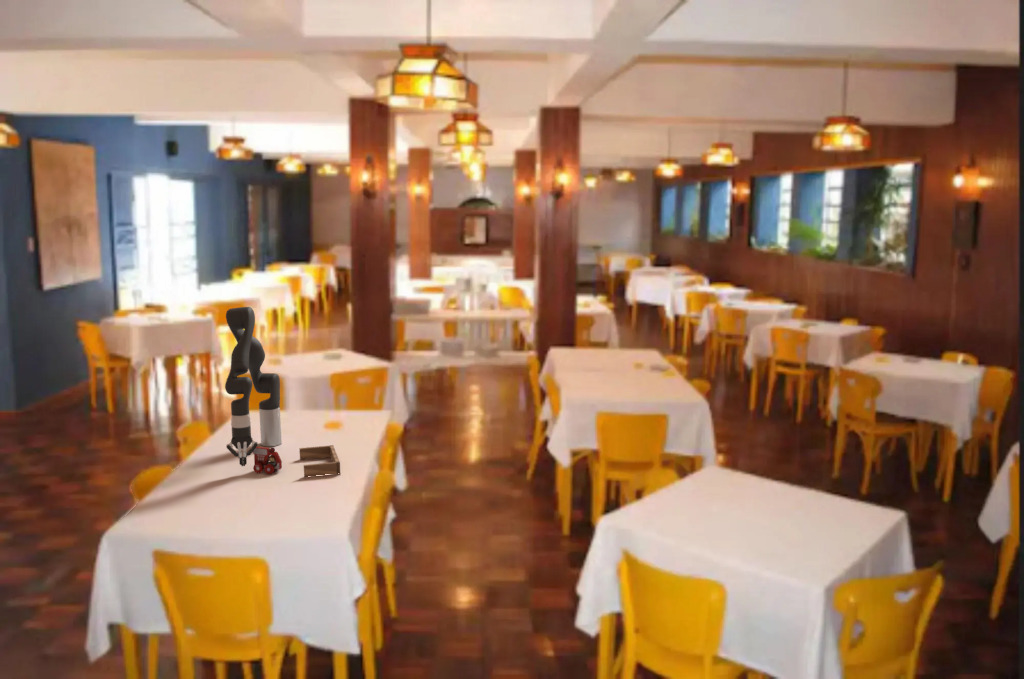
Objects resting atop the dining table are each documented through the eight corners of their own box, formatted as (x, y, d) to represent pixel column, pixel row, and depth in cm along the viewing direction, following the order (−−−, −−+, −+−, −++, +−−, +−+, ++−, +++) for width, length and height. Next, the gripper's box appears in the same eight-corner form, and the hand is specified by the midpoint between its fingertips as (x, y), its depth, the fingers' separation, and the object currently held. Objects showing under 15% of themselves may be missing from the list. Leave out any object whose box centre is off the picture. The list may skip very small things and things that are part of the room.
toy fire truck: (276, 475, 374) (275, 450, 372) (250, 472, 377) (248, 448, 376) (285, 470, 381) (284, 446, 379) (259, 468, 384) (257, 444, 382)
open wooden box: (299, 459, 396) (299, 448, 395) (333, 456, 400) (333, 445, 399) (304, 477, 370) (303, 465, 370) (340, 474, 374) (339, 462, 374)
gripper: (257, 421, 378) (259, 461, 381) (224, 423, 375) (226, 464, 377) (257, 425, 371) (260, 466, 374) (224, 428, 368) (226, 469, 370)
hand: (243, 465), depth 376 cm, fingers closed
